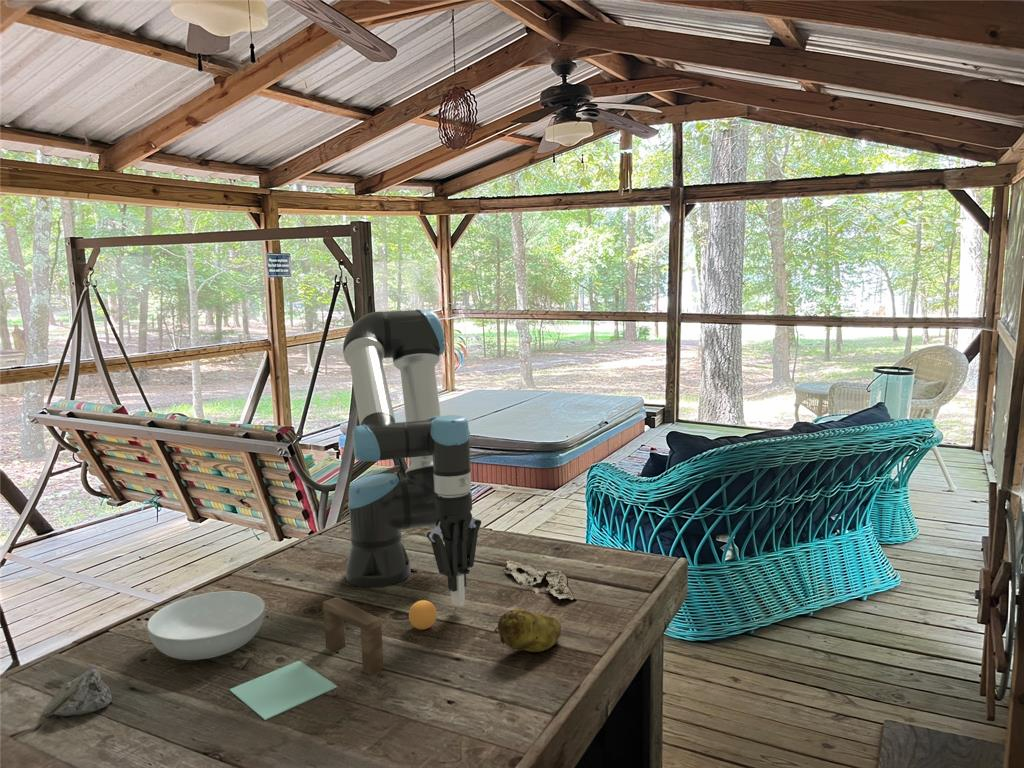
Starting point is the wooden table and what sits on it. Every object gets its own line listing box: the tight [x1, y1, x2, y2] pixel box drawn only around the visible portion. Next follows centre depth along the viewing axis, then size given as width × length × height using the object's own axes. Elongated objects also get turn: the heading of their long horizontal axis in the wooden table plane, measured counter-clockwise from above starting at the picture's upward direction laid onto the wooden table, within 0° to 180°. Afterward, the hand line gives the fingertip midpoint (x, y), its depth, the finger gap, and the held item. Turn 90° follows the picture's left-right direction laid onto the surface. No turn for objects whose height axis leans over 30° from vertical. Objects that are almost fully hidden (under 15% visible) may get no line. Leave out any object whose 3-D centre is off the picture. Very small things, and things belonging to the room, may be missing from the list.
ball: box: [408, 599, 438, 630], centre depth 146 cm, size 6×6×6 cm
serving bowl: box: [146, 590, 266, 661], centre depth 142 cm, size 21×21×7 cm
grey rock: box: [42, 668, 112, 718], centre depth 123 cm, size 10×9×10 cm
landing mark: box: [228, 660, 338, 721], centre depth 126 cm, size 13×13×1 cm
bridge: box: [322, 596, 385, 676], centre depth 135 cm, size 3×14×9 cm, turn 45°
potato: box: [497, 608, 562, 653], centre depth 136 cm, size 8×13×8 cm, turn 108°
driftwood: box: [503, 559, 577, 601], centre depth 167 cm, size 25×10×5 cm
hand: (458, 603), depth 153 cm, fingers closed
